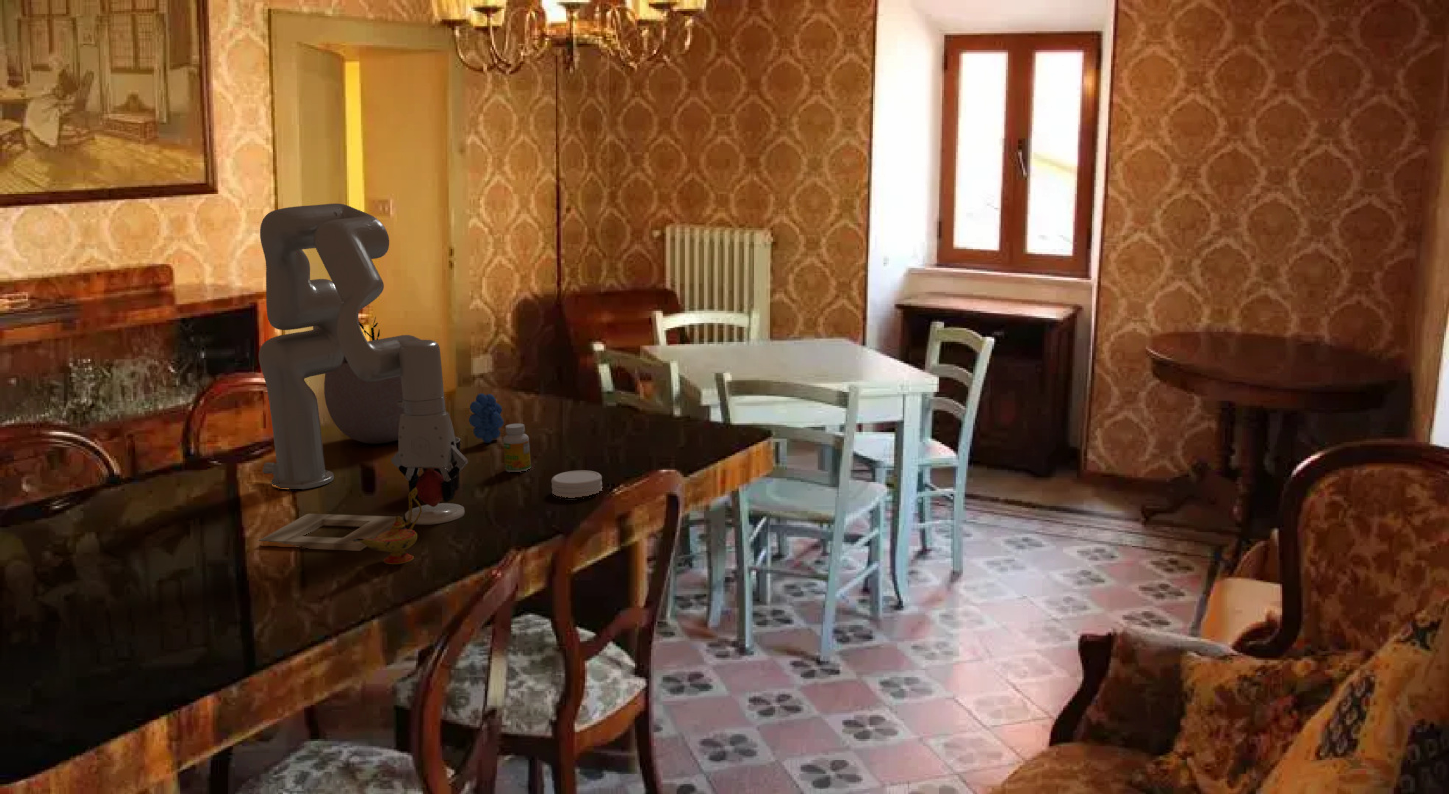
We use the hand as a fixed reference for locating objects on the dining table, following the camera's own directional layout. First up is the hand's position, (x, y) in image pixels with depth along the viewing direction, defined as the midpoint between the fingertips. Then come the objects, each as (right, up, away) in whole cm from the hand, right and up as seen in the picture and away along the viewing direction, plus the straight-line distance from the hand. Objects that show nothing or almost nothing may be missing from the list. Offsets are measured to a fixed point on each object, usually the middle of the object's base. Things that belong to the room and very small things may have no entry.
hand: (432, 498), depth 249 cm
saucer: (0, -3, +1) cm, 3 cm away
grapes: (+1, +8, +56) cm, 56 cm away
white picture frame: (-16, -6, -8) cm, 19 cm away
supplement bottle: (+11, +3, +31) cm, 33 cm away
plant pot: (-26, +9, +63) cm, 69 cm away
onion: (0, -2, 0) cm, 2 cm away
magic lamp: (-1, -9, -25) cm, 27 cm away
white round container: (+26, 0, +12) cm, 29 cm away
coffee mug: (-2, +1, +20) cm, 20 cm away
